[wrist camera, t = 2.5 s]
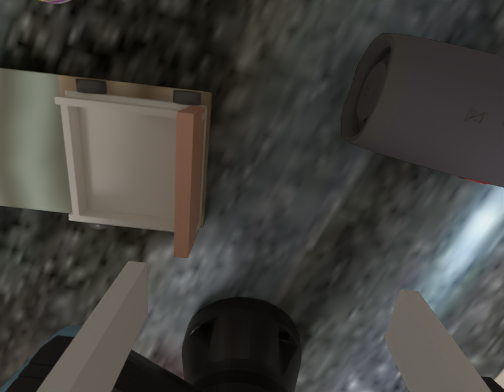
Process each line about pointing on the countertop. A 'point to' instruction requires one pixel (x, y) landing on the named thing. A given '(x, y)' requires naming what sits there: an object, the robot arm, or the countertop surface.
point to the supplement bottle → (55, 1)
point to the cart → (135, 160)
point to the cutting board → (52, 136)
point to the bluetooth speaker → (430, 106)
